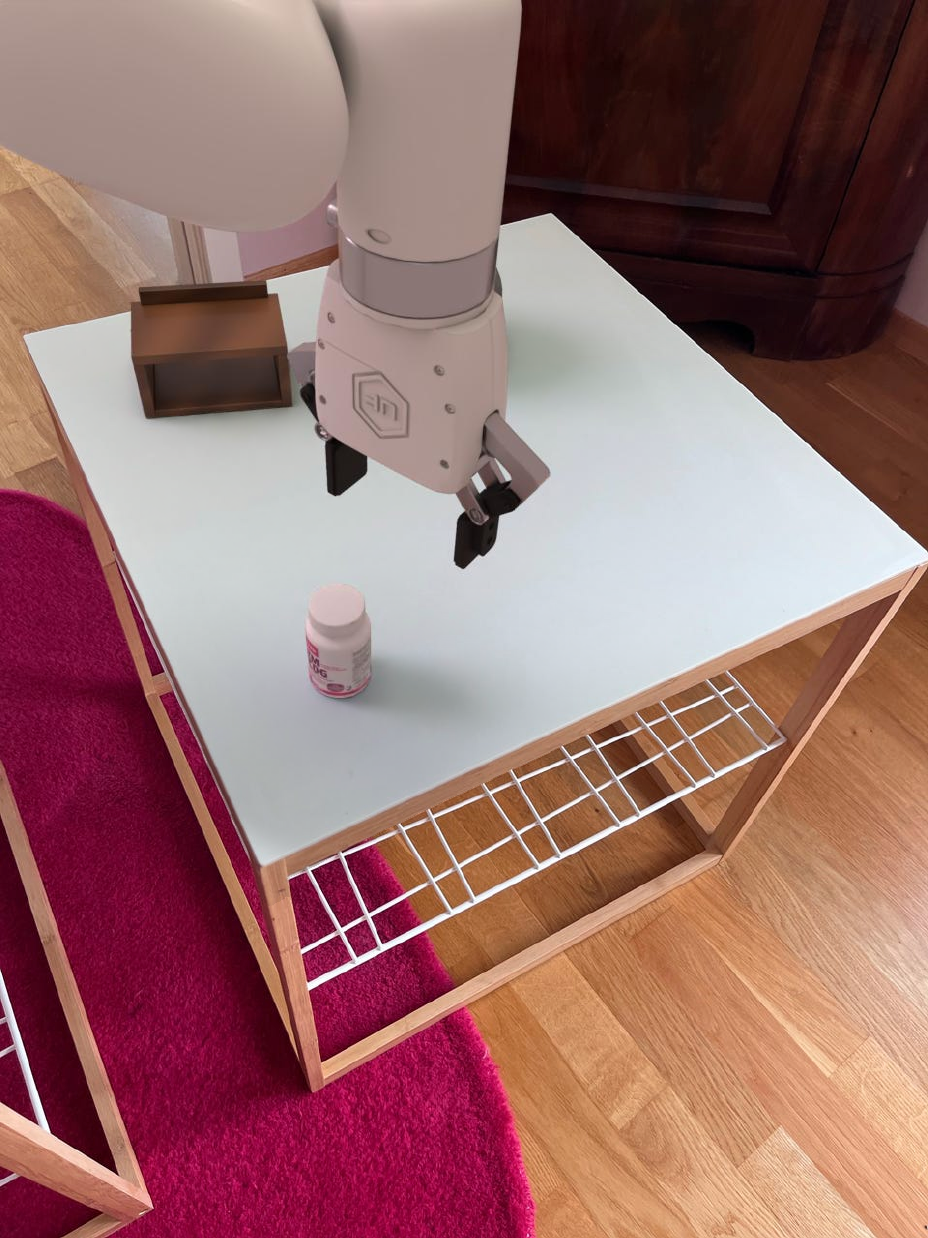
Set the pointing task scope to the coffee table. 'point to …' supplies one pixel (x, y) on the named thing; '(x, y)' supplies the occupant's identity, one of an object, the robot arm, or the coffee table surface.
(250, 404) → the shelf
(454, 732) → the coffee table surface
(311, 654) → the pill bottle
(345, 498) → the coffee table surface
